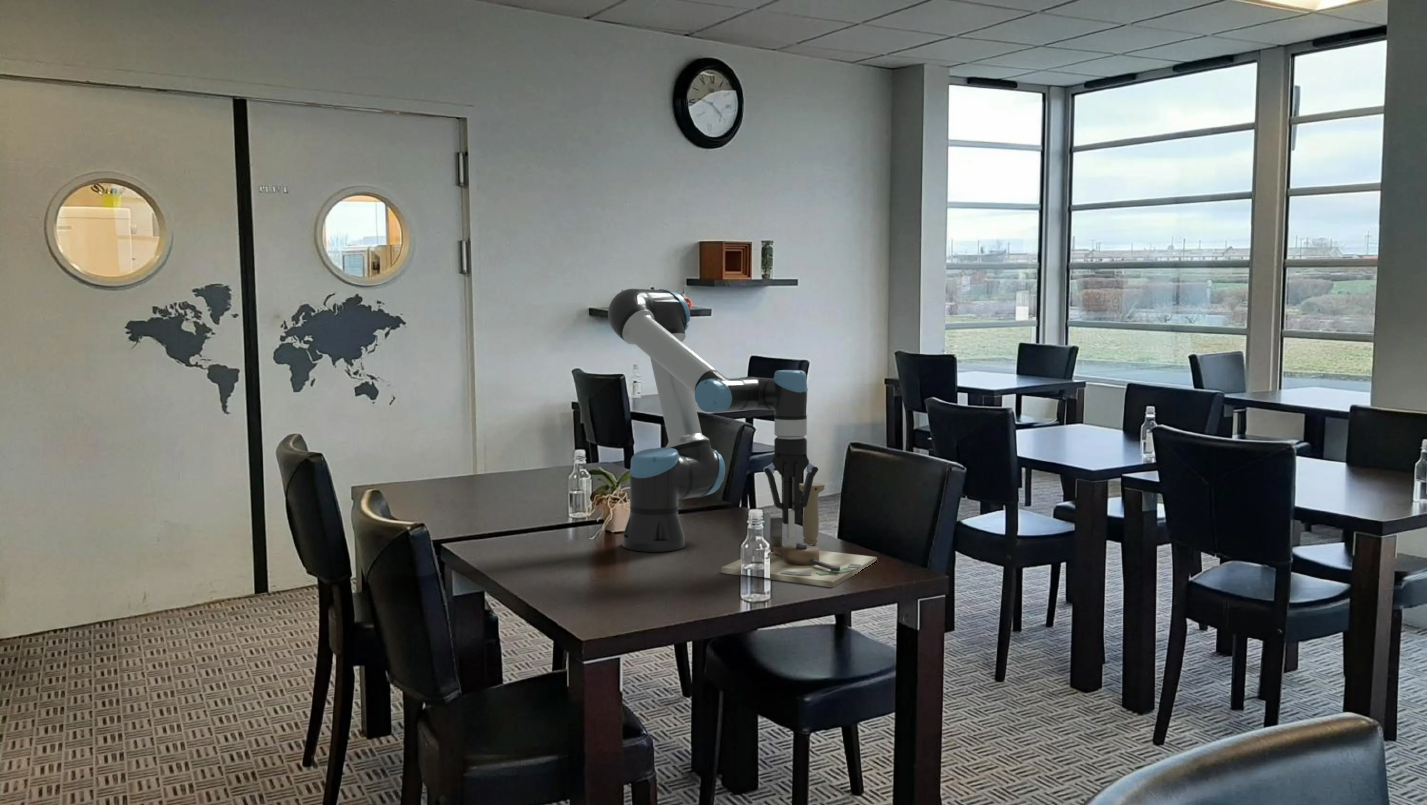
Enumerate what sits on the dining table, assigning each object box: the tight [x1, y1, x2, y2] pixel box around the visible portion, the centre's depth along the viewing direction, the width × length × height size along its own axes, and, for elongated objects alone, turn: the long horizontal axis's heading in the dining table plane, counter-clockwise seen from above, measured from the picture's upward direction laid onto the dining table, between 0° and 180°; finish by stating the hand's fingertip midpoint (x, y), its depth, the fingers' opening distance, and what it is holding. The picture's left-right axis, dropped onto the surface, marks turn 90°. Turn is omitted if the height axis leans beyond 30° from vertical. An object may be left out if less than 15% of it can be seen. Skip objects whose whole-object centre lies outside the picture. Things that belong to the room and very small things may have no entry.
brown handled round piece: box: [769, 516, 840, 571], centre depth 248 cm, size 25×8×8 cm, turn 32°
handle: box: [799, 482, 825, 545], centre depth 274 cm, size 5×6×15 cm
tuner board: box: [720, 545, 878, 588], centre depth 249 cm, size 26×28×1 cm
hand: (790, 537), depth 259 cm, fingers closed
